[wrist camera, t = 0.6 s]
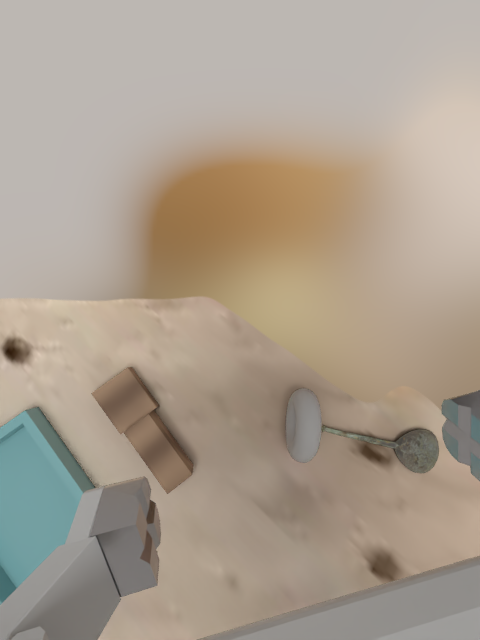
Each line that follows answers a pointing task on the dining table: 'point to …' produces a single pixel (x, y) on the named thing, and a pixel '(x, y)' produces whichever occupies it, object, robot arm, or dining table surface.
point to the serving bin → (34, 496)
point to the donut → (303, 425)
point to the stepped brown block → (144, 427)
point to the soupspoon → (405, 447)
